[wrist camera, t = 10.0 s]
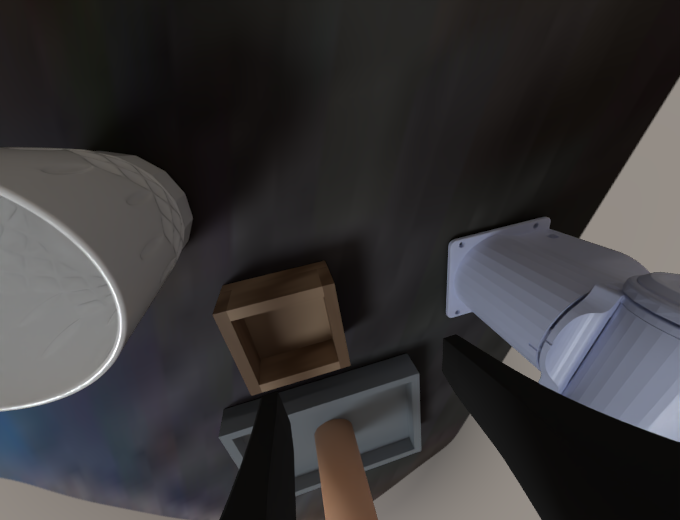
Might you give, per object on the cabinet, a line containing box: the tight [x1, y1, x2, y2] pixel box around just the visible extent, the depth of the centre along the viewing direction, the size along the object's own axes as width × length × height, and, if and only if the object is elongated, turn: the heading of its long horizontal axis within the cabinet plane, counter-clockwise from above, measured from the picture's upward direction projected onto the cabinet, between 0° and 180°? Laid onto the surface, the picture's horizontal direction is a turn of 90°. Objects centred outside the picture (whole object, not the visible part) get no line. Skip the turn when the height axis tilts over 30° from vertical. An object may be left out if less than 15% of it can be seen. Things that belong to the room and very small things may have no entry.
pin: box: [314, 419, 378, 520], centre depth 23 cm, size 4×4×9 cm
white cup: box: [0, 147, 193, 411], centre depth 11 cm, size 8×8×10 cm
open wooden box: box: [213, 261, 351, 396], centre depth 19 cm, size 8×8×4 cm
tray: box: [219, 353, 421, 496], centre depth 27 cm, size 18×13×2 cm
